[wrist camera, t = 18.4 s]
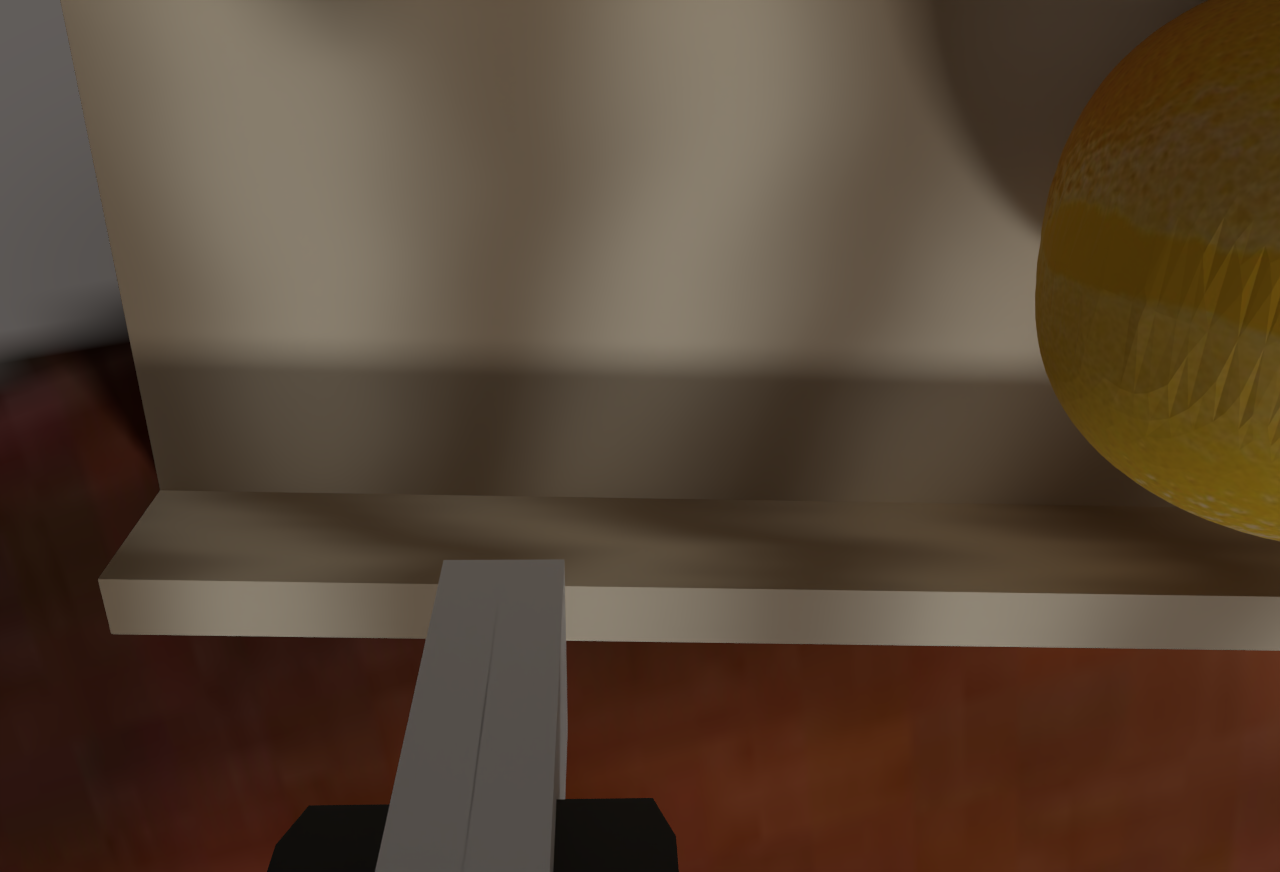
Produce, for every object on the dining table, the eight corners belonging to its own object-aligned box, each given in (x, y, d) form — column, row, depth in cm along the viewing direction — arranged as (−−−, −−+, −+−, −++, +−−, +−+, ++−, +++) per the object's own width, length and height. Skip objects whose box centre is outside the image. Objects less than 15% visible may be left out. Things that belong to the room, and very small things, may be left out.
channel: (187, 514, 24) (62, 710, 19) (45, -221, 18) (-206, -240, 12) (1388, 534, 24) (1598, 730, 19) (1672, -174, 18) (2103, -172, 13)
